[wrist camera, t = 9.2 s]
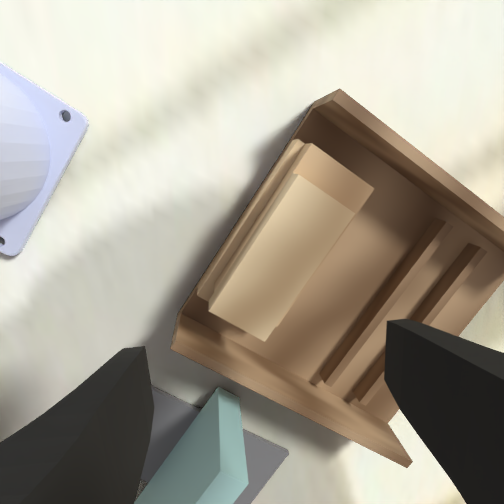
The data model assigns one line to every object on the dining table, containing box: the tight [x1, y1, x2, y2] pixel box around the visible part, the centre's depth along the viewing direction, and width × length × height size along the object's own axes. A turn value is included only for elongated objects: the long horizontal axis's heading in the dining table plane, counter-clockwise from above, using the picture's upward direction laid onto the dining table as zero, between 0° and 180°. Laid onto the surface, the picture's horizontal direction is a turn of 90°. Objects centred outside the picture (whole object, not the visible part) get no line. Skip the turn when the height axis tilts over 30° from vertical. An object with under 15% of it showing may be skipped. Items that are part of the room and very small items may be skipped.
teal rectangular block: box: [134, 387, 249, 504], centre depth 20 cm, size 2×10×6 cm, turn 146°
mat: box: [141, 386, 289, 504], centre depth 23 cm, size 12×6×1 cm, turn 57°
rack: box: [170, 89, 504, 468], centre depth 19 cm, size 15×14×4 cm
